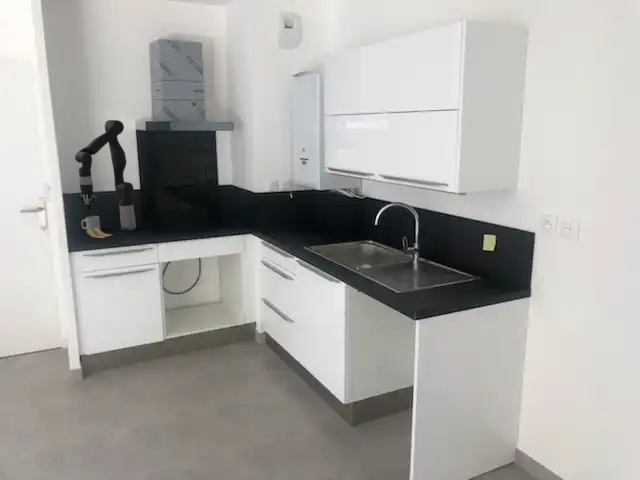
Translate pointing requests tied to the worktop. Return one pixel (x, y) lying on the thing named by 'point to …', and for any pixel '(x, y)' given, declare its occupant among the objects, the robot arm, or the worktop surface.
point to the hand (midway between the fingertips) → (88, 209)
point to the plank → (95, 232)
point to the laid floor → (104, 235)
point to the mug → (91, 222)
